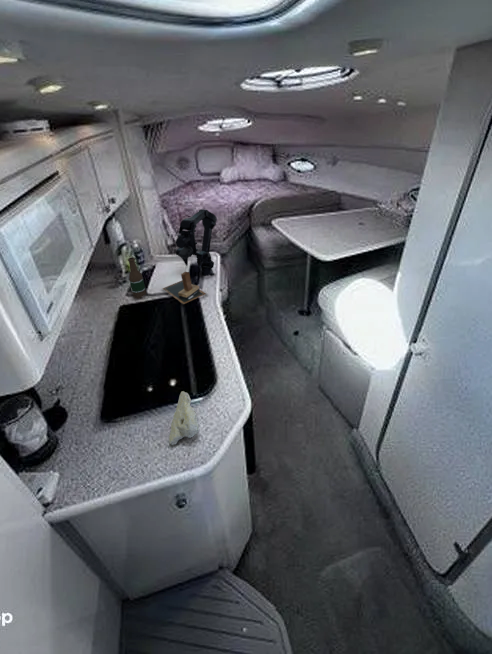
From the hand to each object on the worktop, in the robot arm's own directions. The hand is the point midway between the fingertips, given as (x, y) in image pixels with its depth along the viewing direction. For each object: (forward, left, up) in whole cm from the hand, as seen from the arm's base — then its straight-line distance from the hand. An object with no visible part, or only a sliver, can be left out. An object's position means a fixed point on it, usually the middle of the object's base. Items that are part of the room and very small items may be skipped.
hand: (193, 266), depth 193 cm
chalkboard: (+9, 0, -13) cm, 16 cm away
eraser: (+9, +5, -12) cm, 16 cm away
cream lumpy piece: (+69, +67, -13) cm, 97 cm away
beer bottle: (+26, -19, -13) cm, 35 cm away
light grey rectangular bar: (+12, +8, -12) cm, 19 cm away
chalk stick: (+7, +7, -12) cm, 15 cm away
